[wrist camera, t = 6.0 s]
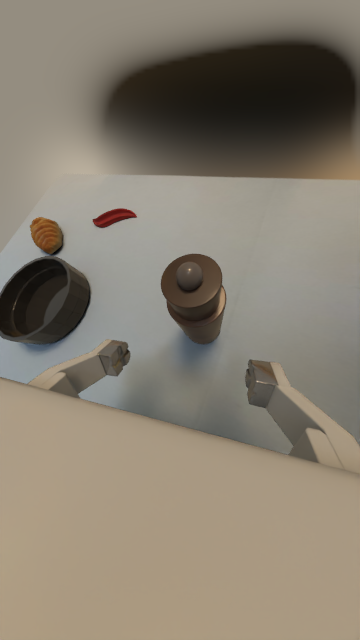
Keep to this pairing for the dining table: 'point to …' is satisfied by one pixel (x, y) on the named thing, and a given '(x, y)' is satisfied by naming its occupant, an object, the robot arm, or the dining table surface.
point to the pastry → (46, 234)
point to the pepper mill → (195, 296)
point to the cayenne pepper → (113, 217)
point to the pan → (42, 301)
